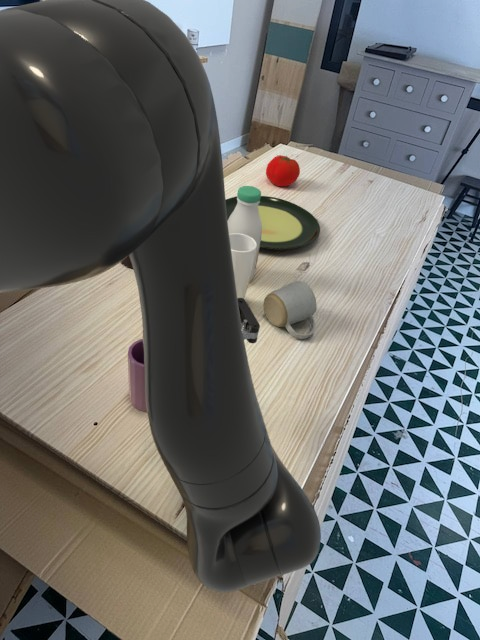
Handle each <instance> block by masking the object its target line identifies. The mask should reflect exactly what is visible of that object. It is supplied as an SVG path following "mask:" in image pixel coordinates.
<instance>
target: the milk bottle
mask: <svg viewBox="0 0 480 640" xmlns="http://www.w3.org/2000/svg"><path fill="white" fill-rule="evenodd" d="M236 196H238V197H237V201H238V203H237V205H236V207H235V209H234V211H233V212H232V214H231V215H230V217H229V219H228V221H227V222H228V230H229V234H232V233H239V234H244V235H247V236H250V237H251V238H253V239H254V240H255V241H256V243H257V249H256V256H255V262H254V266H253V270H252V273H251V277H250V280H249V282H251V281H252V280H253V279H254V278H255V274H256V269H257V264H258V259H259V254H260V253H259V252H260V248H261V247H260V242H261V235H262V223H261V219H260V216H259V211H258V204H259V203H260V198H261V196H262V191H261V190H260V189H259V188H257V187H255V186H251V185H242V186H240V187H239V188H238V190H237V195H236Z"/></svg>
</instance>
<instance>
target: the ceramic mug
mask: <svg viewBox="0 0 480 640" xmlns="http://www.w3.org/2000/svg"><path fill="white" fill-rule="evenodd" d="M263 311H264V314H265V317H266V318H267V320H268V321H269V323H271V325H273V326H275V327H277V328H283V327H285V329H286V330H287V332H288V333H289V335H291V336H292V337H293V338H295V339H297V340H305V339H307V338H309V337H310V336H312V335H313V334H314V332H315V331H316V330H315V329H316V322H315V318H314V315H315V313H316V311H317V299H316V296H315V293H314V291H313V289H312V288H311V286H310V285H309V284H308V283H307V282H305V281H303V280H295V281H293V282H291V283H289V284H286V285H284V286H281V287H280V288H277V289H275V290H272V291H271V292H269V293H268V294H267V295H266V296H265V297H264V300H263ZM303 320H307V321H308V323H309V326H310V331H309V332H308V333H306V334H305V333H299V332H297V331H295V329H294V328H293V327H292V325H293V324H295V323H299V322H301V321H303Z"/></svg>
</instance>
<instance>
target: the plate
mask: <svg viewBox="0 0 480 640" xmlns="http://www.w3.org/2000/svg"><path fill="white" fill-rule="evenodd" d="M237 197H238V196H237V195H236V196H232V197H229V198H227V199H226V198H225V200H226V211H227V221H228V219H229V217H230V215H231V214H232V212H233V211H234V209H235V207H236V205H237V203H238V201H237ZM258 211H259V216H260V219H261V223H262V235H261V242H260V247H259V248H261V249H268V250H279V251H280V250H281V251H282V250H283V251H284V250H292V249H293V250H294V249H298V248H303V247H306V246H309V245H311V244H313V243H314V242H315V241H316V240H318V238H319V237H320V234H321V226H320V223H319V221H318V219H317V218H316V217H315V216H314V215H313V214H312V213H311V212H310V211H308V210H307V209H305V208H303V207H302V206H300V205H298V204H295V202H291V201H288V200H285V199H282V198H279V197H273V196H268V195H261V198H260V203H259V204H258Z"/></svg>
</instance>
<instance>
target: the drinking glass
mask: <svg viewBox="0 0 480 640" xmlns="http://www.w3.org/2000/svg"><path fill="white" fill-rule="evenodd" d="M229 238H230V246H231V253H232V261H233V269H234V276H235V284H236V292H237V298H243V299H246V294H247V291H248V287H249V284H250V281H249V280H250V277H251V273H252V270H253V266H254V262H255V256H256V249H257V243H256V241H255V240H254V239H253V238H251V237H250V236H247V235H244V234H239V233H232V234H229Z"/></svg>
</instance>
